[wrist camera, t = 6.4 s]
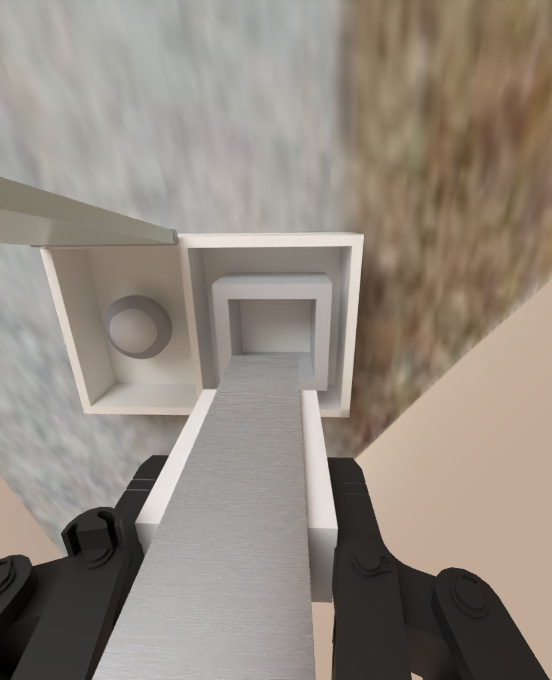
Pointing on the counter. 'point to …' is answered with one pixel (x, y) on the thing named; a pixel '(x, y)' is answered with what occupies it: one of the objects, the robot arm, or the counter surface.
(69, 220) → the lid
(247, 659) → the rectangular gray bar
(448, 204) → the counter surface
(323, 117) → the counter surface
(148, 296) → the housing
